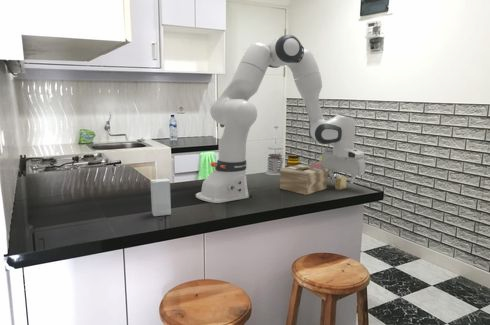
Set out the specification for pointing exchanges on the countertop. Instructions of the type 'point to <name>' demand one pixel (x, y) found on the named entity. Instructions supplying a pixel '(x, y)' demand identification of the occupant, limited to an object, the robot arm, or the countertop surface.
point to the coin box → (303, 179)
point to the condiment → (292, 160)
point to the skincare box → (160, 197)
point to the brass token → (340, 183)
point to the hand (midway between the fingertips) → (341, 181)
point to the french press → (274, 160)
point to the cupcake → (317, 163)
